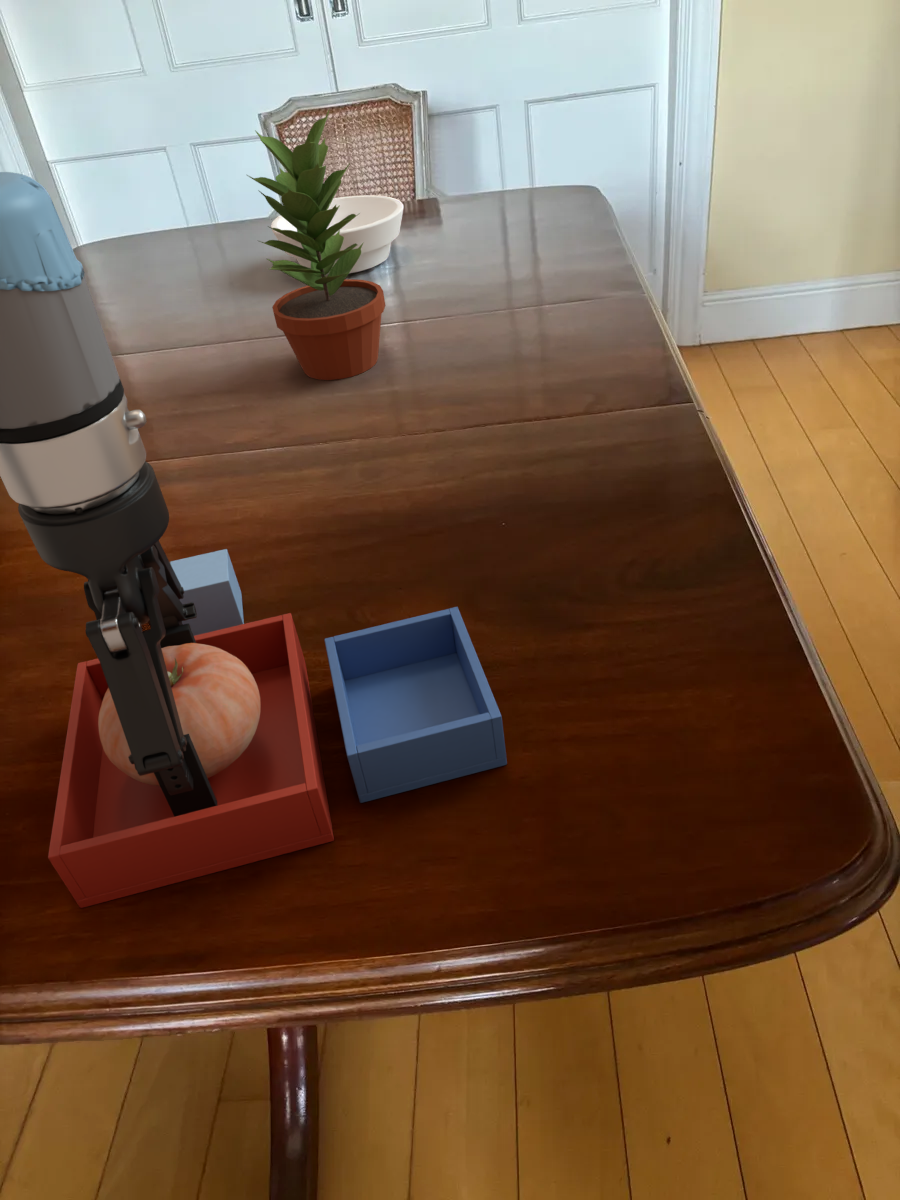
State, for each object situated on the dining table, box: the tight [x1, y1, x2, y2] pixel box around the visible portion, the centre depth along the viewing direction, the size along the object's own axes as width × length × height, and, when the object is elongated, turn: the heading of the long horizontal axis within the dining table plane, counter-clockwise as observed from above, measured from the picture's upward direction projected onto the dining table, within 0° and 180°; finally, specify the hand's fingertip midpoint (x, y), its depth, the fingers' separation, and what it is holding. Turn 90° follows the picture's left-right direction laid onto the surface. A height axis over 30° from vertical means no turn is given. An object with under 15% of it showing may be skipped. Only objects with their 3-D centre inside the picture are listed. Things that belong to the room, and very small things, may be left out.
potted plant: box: [246, 108, 386, 381], centre depth 111 cm, size 15×15×30 cm
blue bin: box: [324, 606, 508, 804], centre depth 65 cm, size 10×12×5 cm
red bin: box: [47, 612, 335, 909], centre depth 63 cm, size 16×18×5 cm
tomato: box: [98, 643, 261, 786], centre depth 61 cm, size 11×11×8 cm
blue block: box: [169, 548, 245, 636], centre depth 78 cm, size 5×5×5 cm
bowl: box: [270, 194, 404, 277], centre depth 152 cm, size 22×22×8 cm
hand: (196, 749), depth 63 cm, fingers closed on tomato, 11 cm apart
